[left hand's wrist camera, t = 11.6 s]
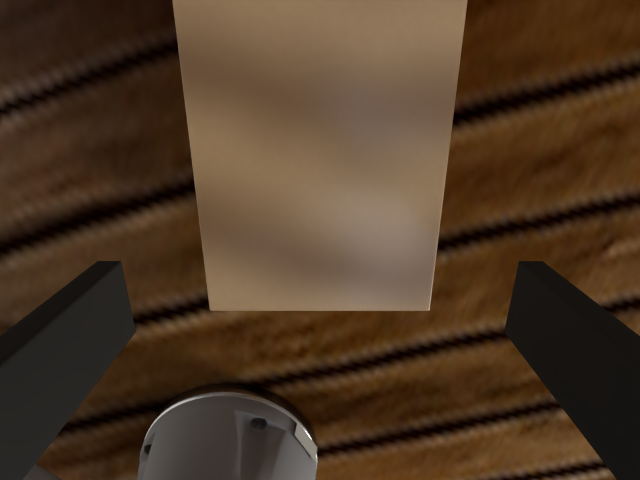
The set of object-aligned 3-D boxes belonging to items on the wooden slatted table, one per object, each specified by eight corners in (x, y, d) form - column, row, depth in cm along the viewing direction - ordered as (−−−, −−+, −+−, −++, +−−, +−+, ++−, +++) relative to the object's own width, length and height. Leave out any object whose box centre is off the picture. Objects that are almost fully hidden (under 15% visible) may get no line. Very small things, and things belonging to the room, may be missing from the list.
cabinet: (216, -122, 20) (137, -285, 11) (423, -122, 20) (502, -285, 11) (244, 241, 27) (209, 311, 19) (395, 241, 27) (429, 311, 19)
